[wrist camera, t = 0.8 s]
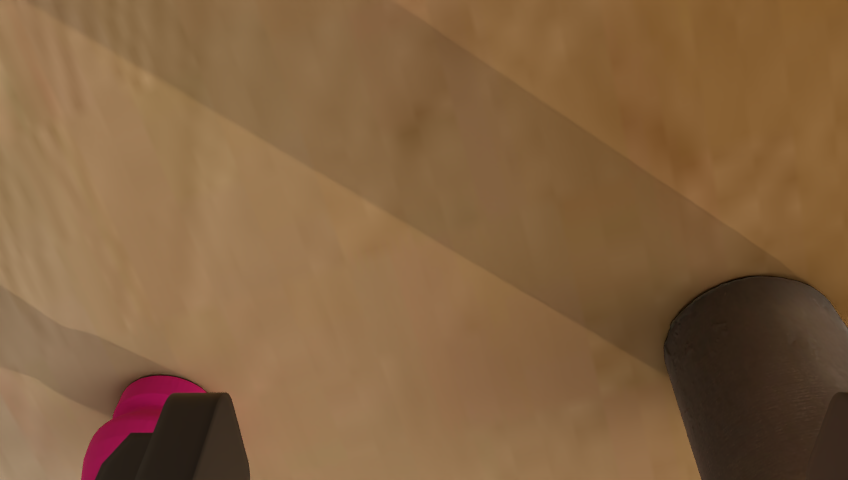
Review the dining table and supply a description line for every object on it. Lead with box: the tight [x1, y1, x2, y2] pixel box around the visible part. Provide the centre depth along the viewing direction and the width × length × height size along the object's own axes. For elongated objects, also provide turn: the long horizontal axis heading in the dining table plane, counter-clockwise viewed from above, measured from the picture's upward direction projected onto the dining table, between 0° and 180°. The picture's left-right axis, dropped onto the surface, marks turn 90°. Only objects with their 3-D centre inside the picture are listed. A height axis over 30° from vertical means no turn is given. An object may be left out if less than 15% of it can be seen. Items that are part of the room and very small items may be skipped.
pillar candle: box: [664, 276, 848, 480], centre depth 40 cm, size 10×10×15 cm
